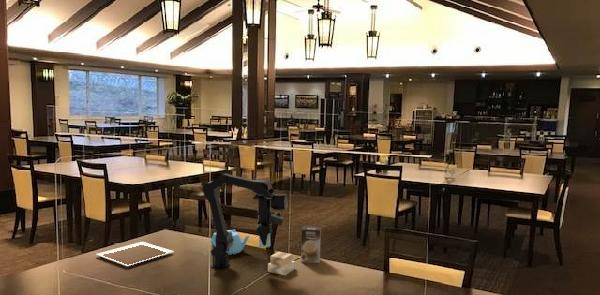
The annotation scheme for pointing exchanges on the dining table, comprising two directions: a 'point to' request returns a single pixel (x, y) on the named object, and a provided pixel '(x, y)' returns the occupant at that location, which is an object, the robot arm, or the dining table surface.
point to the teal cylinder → (266, 242)
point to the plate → (135, 246)
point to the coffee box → (310, 244)
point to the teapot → (237, 242)
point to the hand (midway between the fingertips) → (264, 243)
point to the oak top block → (281, 259)
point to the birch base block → (281, 268)
